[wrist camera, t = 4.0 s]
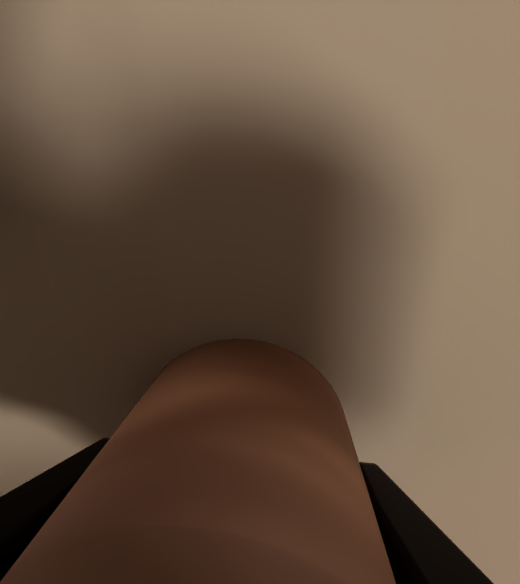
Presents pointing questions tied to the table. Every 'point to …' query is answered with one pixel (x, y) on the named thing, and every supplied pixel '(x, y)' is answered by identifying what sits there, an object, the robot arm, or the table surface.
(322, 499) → the cherry puck
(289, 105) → the table surface
